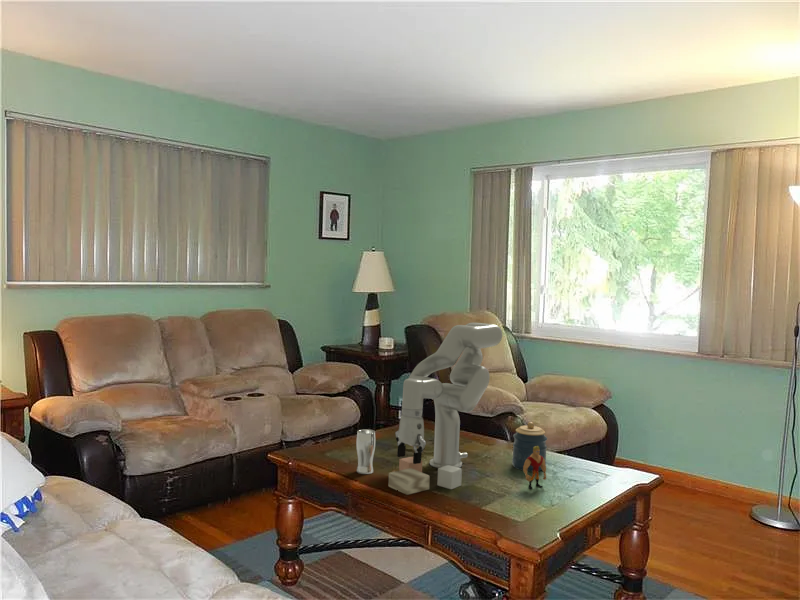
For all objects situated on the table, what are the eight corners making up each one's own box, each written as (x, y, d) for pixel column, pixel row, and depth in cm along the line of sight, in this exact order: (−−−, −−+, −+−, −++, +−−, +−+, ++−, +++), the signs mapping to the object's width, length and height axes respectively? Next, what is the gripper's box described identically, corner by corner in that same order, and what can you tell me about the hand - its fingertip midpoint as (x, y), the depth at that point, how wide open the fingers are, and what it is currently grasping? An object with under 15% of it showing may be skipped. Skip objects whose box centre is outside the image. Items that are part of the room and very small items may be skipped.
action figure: (526, 490, 221) (528, 447, 220) (520, 487, 224) (522, 445, 224) (549, 487, 225) (551, 445, 224) (542, 484, 228) (544, 443, 228)
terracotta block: (412, 472, 237) (412, 456, 237) (421, 477, 232) (422, 460, 232) (398, 475, 234) (399, 458, 233) (408, 479, 229) (409, 463, 228)
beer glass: (371, 475, 232) (373, 434, 231) (353, 473, 233) (354, 433, 232) (376, 469, 238) (377, 430, 238) (358, 468, 240) (359, 428, 239)
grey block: (447, 481, 228) (447, 464, 228) (461, 485, 224) (461, 468, 224) (437, 485, 224) (437, 468, 223) (451, 489, 220) (452, 472, 220)
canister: (526, 473, 240) (528, 427, 239) (505, 464, 251) (507, 419, 250) (553, 469, 246) (555, 424, 245) (531, 460, 257) (532, 417, 257)
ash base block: (410, 481, 227) (410, 468, 227) (429, 489, 219) (429, 475, 219) (388, 487, 221) (388, 472, 221) (406, 495, 213) (407, 480, 213)
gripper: (434, 417, 227) (431, 465, 227) (406, 408, 241) (403, 453, 241) (418, 418, 222) (414, 467, 223) (389, 409, 236) (387, 455, 237)
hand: (408, 459), depth 232 cm, fingers open, 9 cm apart
